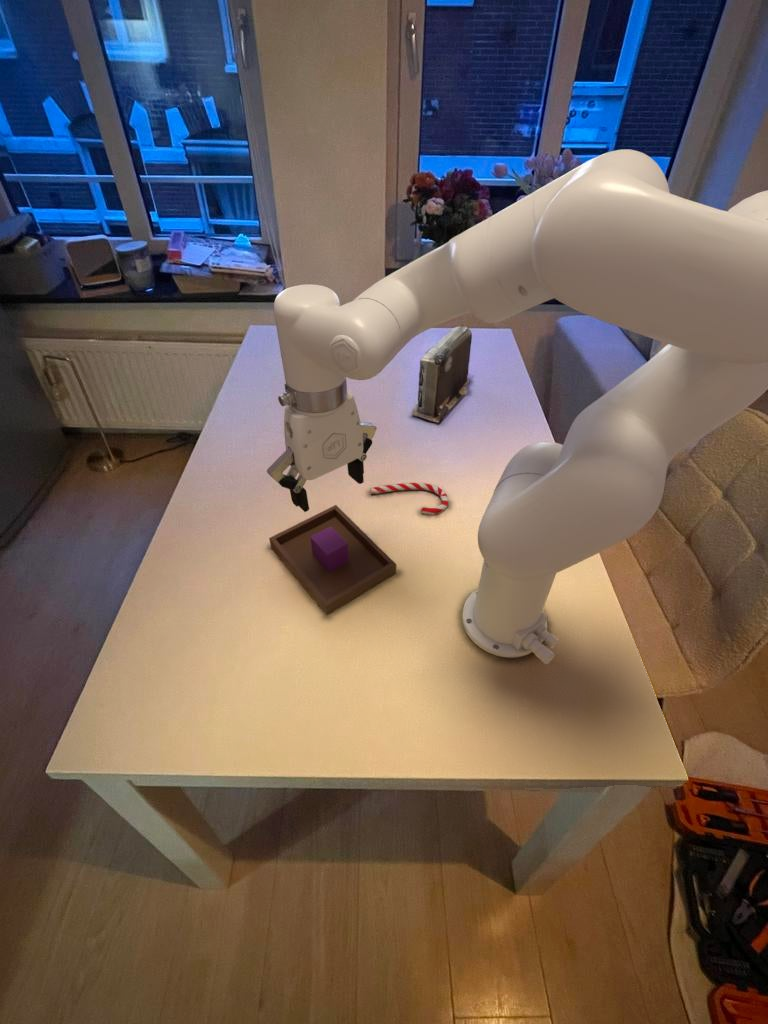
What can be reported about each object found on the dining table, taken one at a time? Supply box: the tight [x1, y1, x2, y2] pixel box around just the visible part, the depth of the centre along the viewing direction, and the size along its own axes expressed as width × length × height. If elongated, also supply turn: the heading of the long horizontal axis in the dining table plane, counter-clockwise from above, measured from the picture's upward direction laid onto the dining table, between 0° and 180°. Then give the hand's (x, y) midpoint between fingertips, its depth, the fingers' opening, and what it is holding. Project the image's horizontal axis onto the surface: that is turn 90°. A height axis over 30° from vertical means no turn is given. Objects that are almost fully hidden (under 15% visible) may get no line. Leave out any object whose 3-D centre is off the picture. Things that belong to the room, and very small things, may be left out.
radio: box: [411, 324, 473, 423], centre depth 120 cm, size 23×9×15 cm, turn 146°
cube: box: [310, 526, 349, 573], centre depth 87 cm, size 5×4×4 cm
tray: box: [268, 504, 397, 616], centre depth 88 cm, size 18×14×2 cm
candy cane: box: [369, 482, 449, 515], centre depth 99 cm, size 8×1×15 cm
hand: (329, 492), depth 78 cm, fingers open, 9 cm apart
